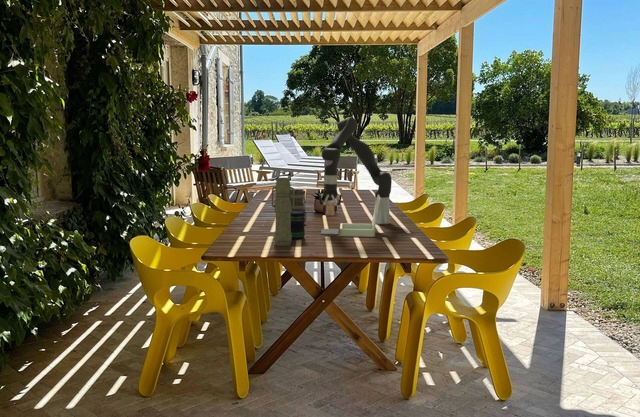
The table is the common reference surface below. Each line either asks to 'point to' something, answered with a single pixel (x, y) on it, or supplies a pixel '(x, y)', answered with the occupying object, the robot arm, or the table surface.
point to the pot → (330, 208)
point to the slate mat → (329, 231)
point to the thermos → (283, 211)
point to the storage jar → (297, 225)
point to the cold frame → (361, 226)
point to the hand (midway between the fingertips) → (330, 211)
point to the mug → (298, 200)
